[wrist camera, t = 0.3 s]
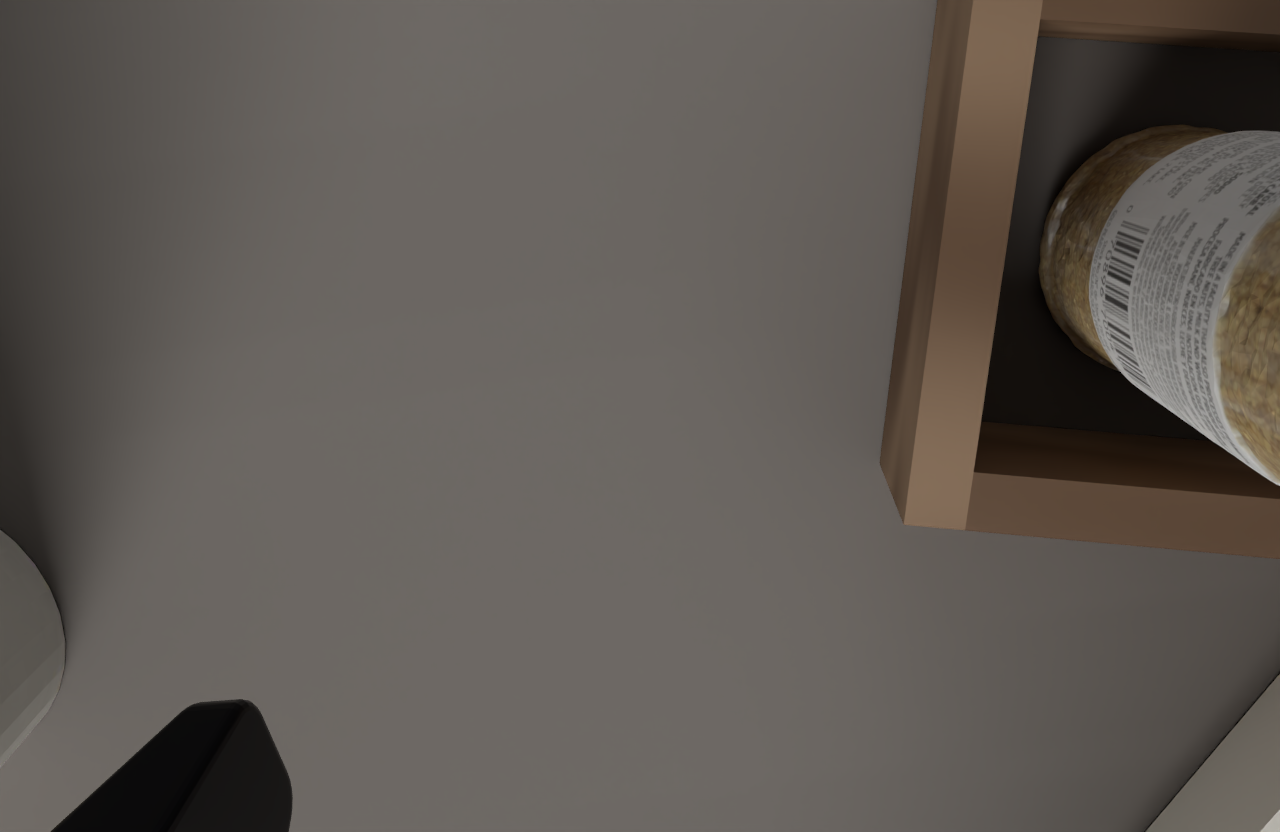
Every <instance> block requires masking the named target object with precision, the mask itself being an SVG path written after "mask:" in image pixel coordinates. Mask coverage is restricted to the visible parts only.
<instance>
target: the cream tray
mask: <svg viewBox="0 0 1280 832" xmlns="http://www.w3.org/2000/svg"><path fill="white" fill-rule="evenodd" d="M1146 832H1280V674H1279V675H1278V676H1277V678H1276V679H1275V680H1274V681H1273V682H1272V684H1271V685H1270V686H1269V687H1268V688H1267V689H1266V691H1265V692H1264V693H1263V694H1262V695H1261V696H1260V698H1259V699H1258V700H1257V701H1256V702H1255V703H1254V705H1253V706H1252V707H1251V708H1250V709H1249V711H1248V712H1247V713H1246V714H1245V715H1244V716H1243V718H1242V719H1241V720H1240V721H1239V722H1238V723H1237V725H1236V726H1235V727H1234V728H1233V729H1232V731H1231V732H1230V733H1229V734H1228V735H1227V736H1226V738H1225V739H1224V740H1223V741H1222V742H1221V743H1220V745H1219V746H1218V747H1217V748H1216V749H1215V751H1214V752H1213V753H1212V754H1211V755H1210V756H1209V758H1208V759H1207V760H1206V761H1205V762H1204V763H1203V765H1202V766H1201V767H1200V768H1199V769H1198V771H1197V772H1196V773H1195V774H1194V775H1193V776H1192V778H1191V779H1190V780H1189V781H1188V782H1187V783H1186V785H1185V786H1184V787H1183V788H1182V789H1181V791H1180V792H1179V793H1178V794H1177V795H1176V796H1175V798H1174V799H1173V800H1172V801H1171V802H1170V803H1169V805H1168V806H1167V807H1166V808H1165V809H1164V811H1163V812H1162V813H1161V814H1160V815H1159V816H1158V818H1157V819H1156V820H1155V821H1154V822H1153V823H1152V825H1151V826H1150V827H1149V828H1148V829H1147V831H1146Z"/></svg>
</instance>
